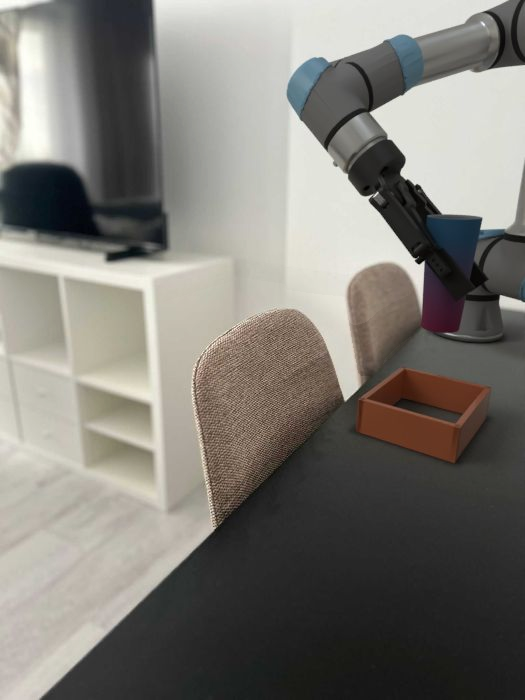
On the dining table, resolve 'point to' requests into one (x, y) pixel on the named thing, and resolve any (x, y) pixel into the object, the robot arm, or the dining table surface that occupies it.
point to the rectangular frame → (420, 429)
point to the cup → (461, 245)
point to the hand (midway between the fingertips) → (473, 289)
